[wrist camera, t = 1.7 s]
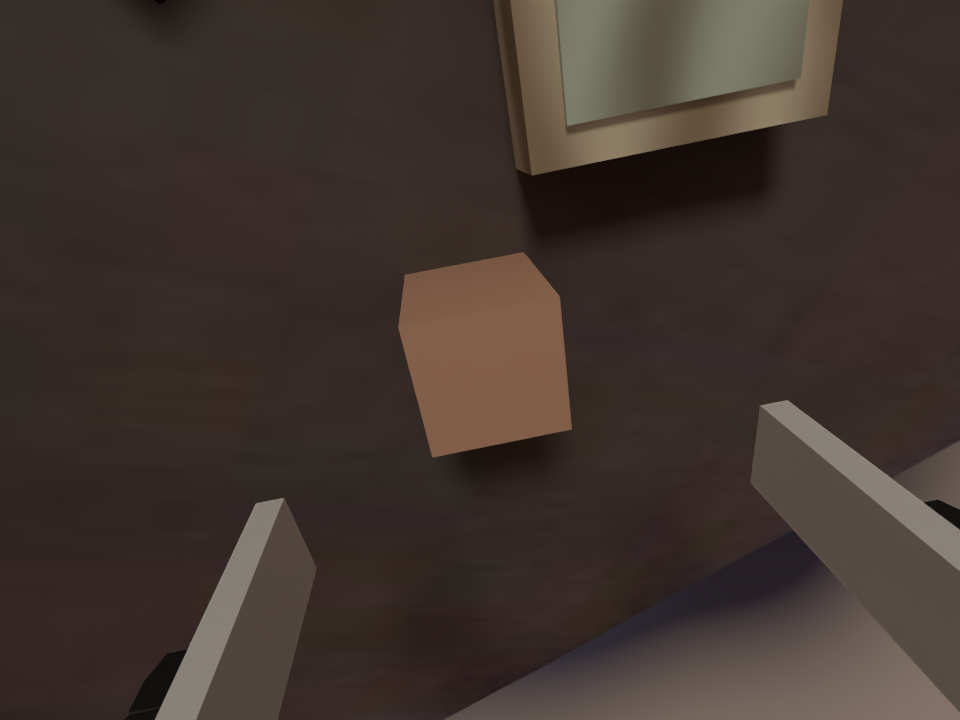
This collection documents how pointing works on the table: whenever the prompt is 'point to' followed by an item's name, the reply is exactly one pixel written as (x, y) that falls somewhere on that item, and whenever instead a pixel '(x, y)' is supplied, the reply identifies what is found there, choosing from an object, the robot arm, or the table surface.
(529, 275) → the terracotta block
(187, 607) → the table surface
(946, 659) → the robot arm
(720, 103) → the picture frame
